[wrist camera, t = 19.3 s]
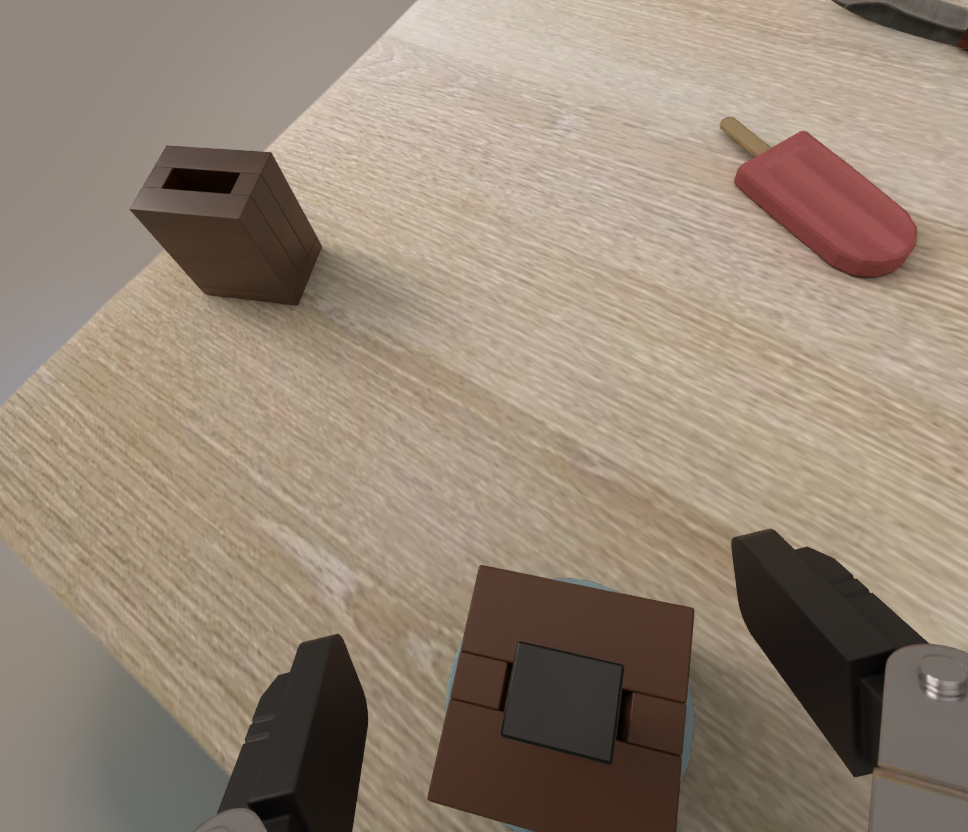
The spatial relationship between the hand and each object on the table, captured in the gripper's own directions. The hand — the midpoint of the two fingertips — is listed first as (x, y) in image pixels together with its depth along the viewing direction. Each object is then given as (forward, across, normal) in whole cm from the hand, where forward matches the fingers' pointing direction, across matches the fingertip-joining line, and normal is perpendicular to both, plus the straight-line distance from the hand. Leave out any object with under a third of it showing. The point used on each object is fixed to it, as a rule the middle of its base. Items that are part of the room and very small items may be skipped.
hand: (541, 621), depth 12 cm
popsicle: (+30, -22, -3) cm, 37 cm away
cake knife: (+12, 0, +14) cm, 18 cm away
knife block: (+34, +13, -7) cm, 37 cm away
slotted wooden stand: (+12, 0, +14) cm, 19 cm away
